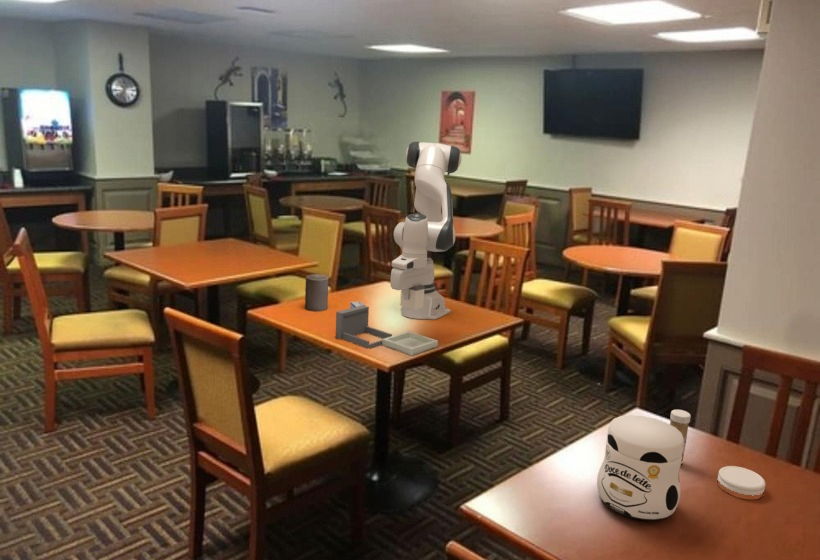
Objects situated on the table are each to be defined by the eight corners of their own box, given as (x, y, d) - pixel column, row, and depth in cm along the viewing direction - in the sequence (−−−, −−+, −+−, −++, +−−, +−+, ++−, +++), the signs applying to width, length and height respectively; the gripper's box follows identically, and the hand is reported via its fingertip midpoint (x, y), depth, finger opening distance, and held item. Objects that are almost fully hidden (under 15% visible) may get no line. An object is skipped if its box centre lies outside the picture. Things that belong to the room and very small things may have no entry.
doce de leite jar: (599, 521, 140) (609, 443, 136) (591, 479, 157) (600, 409, 152) (685, 533, 138) (698, 454, 133) (667, 489, 154) (679, 418, 150)
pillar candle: (300, 309, 280) (301, 274, 276) (312, 303, 289) (313, 270, 285) (320, 313, 276) (321, 278, 273) (332, 307, 285) (333, 273, 282)
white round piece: (768, 504, 150) (770, 490, 150) (720, 496, 153) (723, 482, 152) (757, 482, 160) (760, 469, 159) (713, 475, 162) (715, 462, 161)
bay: (362, 329, 257) (363, 305, 255) (394, 340, 246) (395, 315, 244) (335, 337, 247) (336, 311, 244) (367, 349, 236) (368, 322, 234)
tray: (408, 337, 251) (408, 331, 251) (437, 346, 242) (438, 340, 242) (381, 345, 241) (382, 339, 240) (411, 355, 232) (412, 349, 231)
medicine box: (349, 322, 265) (349, 301, 263) (359, 321, 267) (360, 301, 265) (355, 328, 258) (356, 307, 256) (366, 327, 260) (367, 306, 258)
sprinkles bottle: (682, 468, 164) (691, 418, 161) (663, 464, 166) (671, 414, 163) (682, 460, 168) (690, 411, 165) (663, 455, 170) (671, 407, 167)
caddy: (408, 303, 242) (409, 281, 240) (423, 307, 238) (424, 285, 236) (400, 305, 239) (401, 283, 237) (415, 310, 234) (416, 287, 232)
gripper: (426, 255, 244) (424, 291, 247) (388, 262, 229) (386, 301, 232) (439, 258, 240) (437, 295, 243) (401, 265, 225) (399, 304, 228)
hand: (412, 298), depth 237 cm, fingers closed on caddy, 4 cm apart
